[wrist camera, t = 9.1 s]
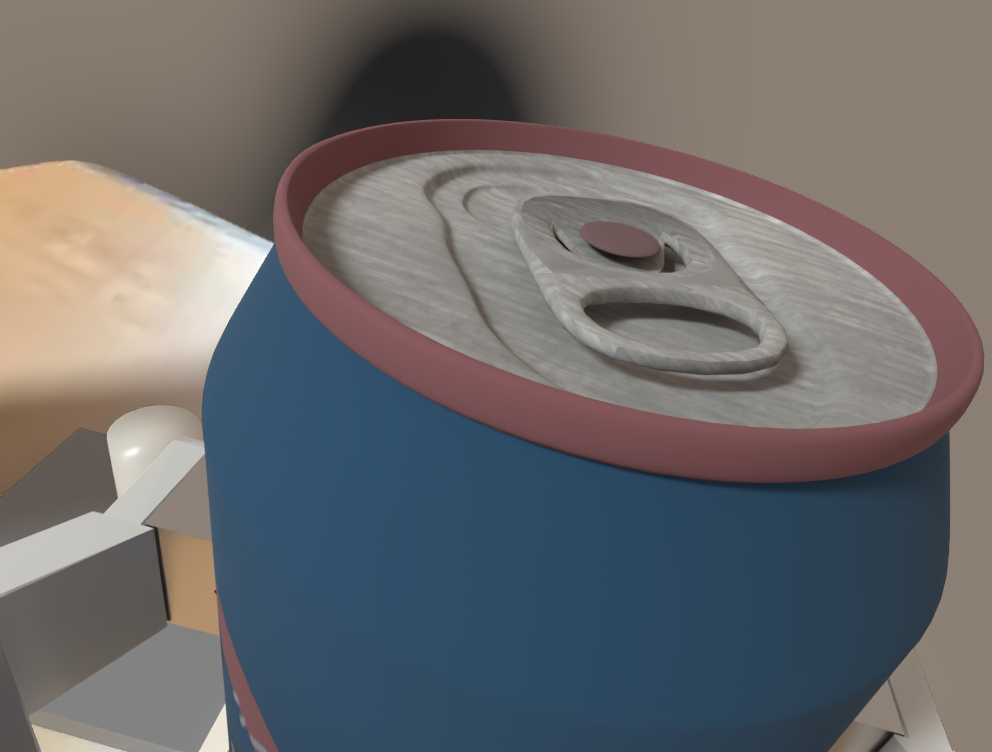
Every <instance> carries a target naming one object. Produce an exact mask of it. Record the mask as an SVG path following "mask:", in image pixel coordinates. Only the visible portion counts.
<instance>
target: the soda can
mask: <svg viewBox="0 0 992 752" xmlns="http://www.w3.org/2000/svg"><path fill="white" fill-rule="evenodd" d="M273 224H274V237H275V244H274V245H273V247H272V249H271V250H270V252H269V254H268V255H267V257H266V259H265V260H264V262H263V264H262V265H261V267H260V269H259V270H258V272H257V274H256V276H255V277H254V279H253V281H252V282H251V284H250V286H249V287H248V289H247V291H246V293H245V294H244V296H243V298H242V299H241V301H240V303H239V304H238V306H237V308H236V310H235V312H234V313H233V315H232V317H231V319H230V320H229V322H228V324H227V326H226V328H225V330H224V332H223V334H222V336H221V338H220V340H219V342H218V344H217V347H216V349H215V351H214V353H213V356H212V359H211V362H210V365H209V368H208V372H207V376H206V381H205V386H204V391H203V402H202V423H203V437H204V449H205V461H206V473H207V485H208V498H209V510H210V522H211V534H212V546H213V558H214V571H215V583H216V595H217V607H218V619H219V631H220V644H221V656H222V668H223V680H224V692H225V704H226V717H227V729H228V741H229V752H828V751H829V750H830V748H831V747H832V746H833V745H834V744H835V742H836V741H837V740H838V739H839V738H840V736H841V735H842V734H843V733H844V731H845V730H846V729H847V728H848V727H849V725H850V724H851V723H852V722H853V721H854V719H855V718H856V717H857V716H858V715H859V713H860V712H861V711H862V710H863V708H864V707H865V706H866V705H867V704H868V702H869V701H870V700H871V699H872V698H873V696H874V695H875V694H876V693H877V691H878V690H879V689H880V688H881V687H882V685H883V684H884V683H885V682H886V681H887V679H888V678H889V677H890V676H891V675H892V673H893V672H894V671H895V670H896V668H897V667H898V666H899V665H900V664H901V662H902V661H903V660H904V659H905V658H906V656H907V655H908V654H909V653H910V651H911V650H912V649H913V648H914V647H915V645H916V644H917V643H918V642H919V641H920V639H921V637H922V636H923V634H924V633H925V631H926V629H927V628H928V626H929V624H930V623H931V621H932V619H933V617H934V614H935V612H936V609H937V607H938V605H939V602H940V600H941V596H942V592H943V588H944V584H945V580H946V575H947V566H948V556H949V541H950V454H949V453H950V452H949V451H950V450H949V448H950V446H949V430H950V429H951V428H952V427H953V426H954V424H955V423H956V422H957V421H958V420H959V419H960V418H961V416H962V415H963V414H964V413H965V411H966V410H967V408H968V406H969V404H970V403H971V401H972V399H973V398H974V395H975V394H976V392H977V390H978V387H979V385H980V381H981V379H982V375H983V370H984V352H983V345H982V341H981V338H980V336H979V333H978V330H977V328H976V327H975V325H974V323H973V321H972V319H971V317H970V315H969V314H968V313H967V311H966V310H965V308H964V307H963V305H962V304H961V303H960V302H959V300H958V299H957V298H956V297H955V296H954V294H953V293H952V292H951V291H950V290H949V289H948V288H947V287H946V286H945V285H944V284H943V283H942V282H941V281H940V280H939V279H938V278H937V277H936V276H934V275H933V274H932V273H931V272H930V271H929V270H928V269H926V268H925V267H924V266H923V265H921V264H920V263H919V262H918V261H916V260H915V259H914V258H912V257H911V256H910V255H908V254H907V253H905V252H904V251H902V250H901V249H900V248H898V247H897V246H895V245H894V244H892V243H891V242H889V241H888V240H886V239H885V238H883V237H881V236H880V235H878V234H876V233H874V232H873V231H871V230H870V229H868V228H866V227H864V226H862V225H861V224H859V223H857V222H856V221H854V220H852V219H850V218H848V217H846V216H844V215H842V214H840V213H838V212H836V211H834V210H832V209H830V208H828V207H826V206H824V205H822V204H820V203H818V202H816V201H814V200H811V199H809V198H807V197H805V196H802V195H800V194H797V193H796V192H793V191H791V190H788V189H786V188H784V187H781V186H779V185H776V184H774V183H771V182H769V181H766V180H764V179H761V178H758V177H756V176H753V175H750V174H748V173H745V172H741V171H739V170H736V169H733V168H730V167H727V166H724V165H721V164H718V163H715V162H712V161H709V160H705V159H702V158H699V157H695V156H692V155H689V154H685V153H681V152H678V151H674V150H670V149H667V148H663V147H659V146H655V145H651V144H646V143H643V142H638V141H634V140H629V139H625V138H620V137H615V136H610V135H605V134H600V133H594V132H589V131H583V130H577V129H570V128H564V127H557V126H549V125H541V124H533V123H522V122H511V121H497V120H474V119H469V120H468V119H443V120H421V121H410V122H400V123H392V124H385V125H379V126H374V127H368V128H364V129H360V130H356V131H351V132H348V133H344V134H341V135H337V136H335V137H332V138H329V139H326V140H324V141H321V142H319V143H317V144H315V145H313V146H311V147H310V148H308V149H306V150H305V151H303V152H302V153H301V154H300V155H298V156H297V157H296V158H295V159H294V160H293V162H292V163H291V164H290V165H289V167H288V168H287V169H286V171H285V173H284V175H283V176H282V178H281V180H280V183H279V186H278V189H277V192H276V197H275V205H274V216H273Z"/></svg>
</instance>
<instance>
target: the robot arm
mask: <svg viewBox="0 0 992 752" xmlns="http://www.w3.org/2000/svg"><path fill="white" fill-rule="evenodd" d="M167 622H168V623H172V624H175V625H179V626H183V627H187V628H191V629H195V630H199V631H203V632H207V633H211V634H214V635H218V636H220V631H219V619H218V607H217V595H216V583H215V571H214V558H213V546H212V534H211V522H210V510H209V498H208V485H207V473H206V461H205V449H204V441H200V440H197V439H194V438H190V437H187V436H183V437H181V438H178V439H176V440H174V441H173V442H171V444H170V445H169V446H168V447H167V448H166V449H165V450H164V451H163V452H162V453H161V454H160V455H159V456H158V457H157V458H156V459H155V460H154V461H153V462H152V463H151V464H150V466H149V467H148V468H147V469H146V470H145V471H144V472H143V473H142V474H141V475H140V476H139V477H138V478H137V479H136V480H135V481H134V482H133V483H132V484H131V485H130V487H129V488H128V489H127V490H126V491H125V492H124V493H123V494H122V495H121V496H120V497H119V498H118V499H117V500H116V501H115V502H114V503H113V504H112V505H111V506H110V508H109V509H108V510H107V511H106V512H105V513H104V514H102V513H98V512H94V511H92V512H90V513H87V514H84V515H82V516H79V517H77V518H74V519H72V520H69V521H67V522H64V523H61V524H59V525H56V526H54V527H51V528H49V529H46V530H43V531H41V532H38V533H36V534H33V535H31V536H28V537H25V538H23V539H20V540H18V541H15V542H13V543H10V544H7V545H5V546H2V547H0V752H41V749H40V747H39V744H38V741H37V739H36V736H35V733H34V731H33V728H32V726H31V723H30V720H29V718H28V716H29V715H31V714H33V713H34V712H36V711H37V710H39V709H40V708H42V707H43V706H45V705H47V704H48V703H50V702H51V701H53V700H54V699H56V698H57V697H59V696H60V695H62V694H64V693H65V692H67V691H68V690H70V689H71V688H73V687H74V686H76V685H78V684H79V683H81V682H82V681H84V680H85V679H87V678H88V677H90V676H92V675H93V674H95V673H96V672H98V671H99V670H101V669H102V668H104V667H105V666H107V665H109V664H110V663H112V662H113V661H115V660H116V659H118V658H119V657H121V656H123V655H124V654H126V653H127V652H129V651H130V650H132V649H133V648H135V647H136V646H138V645H140V644H141V643H143V642H144V641H146V640H147V639H149V638H150V637H152V636H154V635H155V634H157V633H158V632H160V631H161V630H163V629H164V628H166V627H167V626H168V624H167ZM828 752H956V751H953V750H952V748H951V746H950V743H949V740H948V738H947V735H946V732H945V729H944V727H943V724H942V721H941V719H940V716H939V713H938V711H937V708H936V705H935V702H934V700H933V697H932V694H931V692H930V689H929V686H928V683H927V681H926V678H925V675H924V673H923V670H922V667H921V665H920V662H919V659H918V656H917V654H916V651H915V648H913V649H912V650H911V651H910V653H909V654H908V655H907V656H906V658H905V659H904V660H903V661H902V662H901V664H900V665H899V666H898V667H897V668H896V670H895V671H894V672H893V673H892V675H891V676H890V677H889V678H888V679H887V681H886V682H885V683H884V684H883V685H882V687H881V688H880V689H879V690H878V691H877V693H876V694H875V695H874V696H873V698H872V699H871V700H870V701H869V702H868V704H867V705H866V706H865V707H864V708H863V710H862V711H861V712H860V713H859V715H858V716H857V717H856V718H855V719H854V721H853V722H852V723H851V724H850V725H849V727H848V728H847V729H846V730H845V731H844V733H843V734H842V735H841V736H840V738H839V739H838V740H837V741H836V742H835V744H834V745H833V746H832V747H831V748H830V750H829V751H828Z"/></svg>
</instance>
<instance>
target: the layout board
mask: <svg viewBox="0 0 992 752" xmlns="http://www.w3.org/2000/svg"><path fill="white" fill-rule="evenodd" d="M183 436H187V437H190V438H194V439H197V440H200V441H203V430H202V423H201V421H200V419H199V418H198V417H197V416H196V415H195V414H194V413H193V412H191V411H189V410H187V409H185V408H181V407H177V406H171V405H154V406H147V407H142V408H139V409H136V410H133V411H130V412H128V413H126V414H124V415H123V416H121V417H120V418H118V419H117V420H116V421H115V422H114V423H113V424H112V425H111V427H110V428H109V430H108V433H107V435H105V434H101V433H97V432H93V431H89V430H85V429H82V428H79V429H78V430H77V431H76V432H75V433H73V434H72V435H71V436H70V437H69V438H68V439H67V440H65V441H64V442H63V443H62V444H61V445H60V446H59V447H58V448H56V449H55V450H54V451H53V452H52V453H51V454H50V455H48V456H47V457H46V458H45V459H44V460H43V461H42V462H40V463H39V464H38V465H37V466H36V467H35V468H34V469H32V470H31V471H30V472H29V473H28V474H27V475H26V476H25V477H23V478H22V479H21V480H20V481H19V482H18V483H17V484H15V485H14V486H13V487H12V488H11V489H10V490H9V491H7V492H6V493H5V494H4V495H3V496H2V497H1V498H0V547H2V546H5V545H7V544H10V543H13V542H15V541H18V540H20V539H23V538H25V537H28V536H31V535H33V534H36V533H38V532H41V531H43V530H46V529H49V528H51V527H54V526H56V525H59V524H61V523H64V522H67V521H69V520H72V519H74V518H77V517H79V516H82V515H84V514H87V513H90V512H92V511H94V512H98V513H102V514H104V513H105V512H106V511H107V510H108V509H109V508H110V506H111V505H112V504H113V503H114V502H115V501H116V500H117V499H118V498H119V497H120V496H121V495H122V494H123V493H124V492H125V491H126V490H127V489H128V488H129V487H130V485H131V484H132V483H133V482H134V481H135V480H136V479H137V478H138V477H139V476H140V475H141V474H142V473H143V472H144V471H145V470H146V469H147V468H148V467H149V466H150V464H151V463H152V462H153V461H154V460H155V459H156V458H157V457H158V456H159V455H160V454H161V453H162V452H163V451H164V450H165V449H166V448H167V447H168V446H169V445H170V444H171V442H173V441H174V440H176V439H178V438H181V437H183ZM167 624H168V626H167V627H166V628H164V629H163V630H161V631H160V632H158V633H157V634H155V635H154V636H152V637H150V638H149V639H147V640H146V641H144V642H143V643H141V644H140V645H138V646H136V647H135V648H133V649H132V650H130V651H129V652H127V653H126V654H124V655H123V656H121V657H119V658H118V659H116V660H115V661H113V662H112V663H110V664H109V665H107V666H105V667H104V668H102V669H101V670H99V671H98V672H96V673H95V674H93V675H92V676H90V677H88V678H87V679H85V680H84V681H82V682H81V683H79V684H78V685H76V686H74V687H73V688H71V689H70V690H68V691H67V692H65V693H64V694H62V695H60V696H59V697H57V698H56V699H54V700H53V701H51V702H50V703H48V704H47V705H45V706H43V707H42V708H40V709H39V710H37V711H36V712H34V713H33V714H31V715H29V716H28V718H29V720H30V723H31V724H34V725H37V726H41V727H44V728H48V729H51V730H55V731H58V732H62V733H65V734H69V735H72V736H76V737H79V738H83V739H86V740H90V741H93V742H97V743H100V744H104V745H107V746H111V747H114V748H118V749H121V750H125V751H128V752H229V741H228V729H227V717H226V704H225V692H224V680H223V668H222V656H221V644H220V636H218V635H214V634H211V633H207V632H203V631H199V630H195V629H191V628H187V627H183V626H179V625H175V624H172V623H168V622H167Z"/></svg>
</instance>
